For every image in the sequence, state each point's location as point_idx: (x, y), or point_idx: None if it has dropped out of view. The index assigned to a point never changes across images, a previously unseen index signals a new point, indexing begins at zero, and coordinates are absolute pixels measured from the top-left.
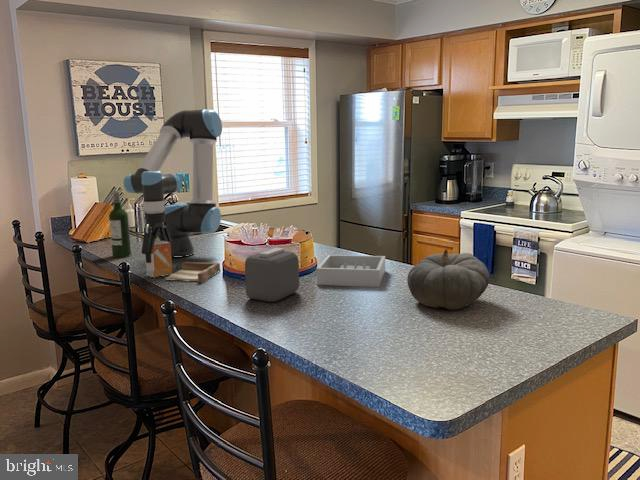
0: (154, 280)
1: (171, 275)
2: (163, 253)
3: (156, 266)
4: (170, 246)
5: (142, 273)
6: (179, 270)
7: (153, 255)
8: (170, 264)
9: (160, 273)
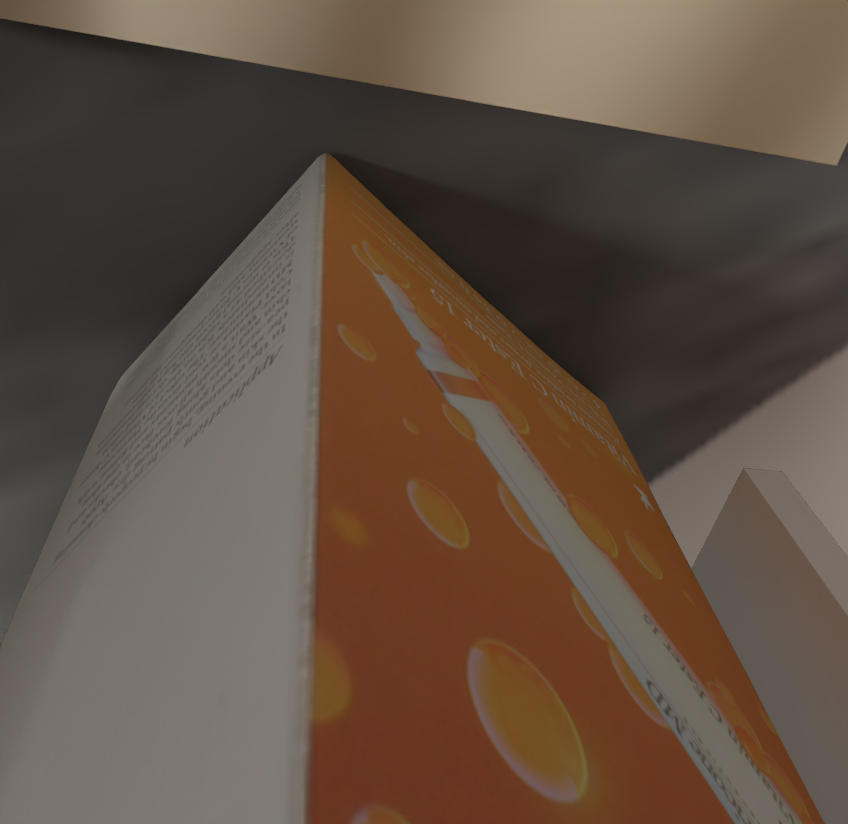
0: (722, 356)
1: (637, 86)
2: (593, 662)
3: (634, 509)
4: (314, 786)
5: None
6: (112, 25)
7: (807, 798)
8: (354, 271)
9: (538, 361)
